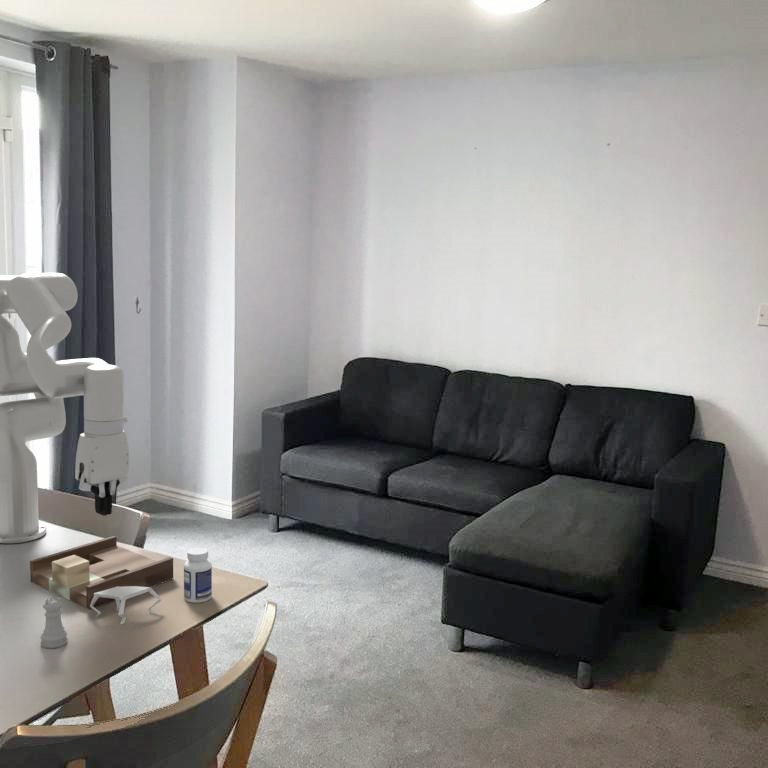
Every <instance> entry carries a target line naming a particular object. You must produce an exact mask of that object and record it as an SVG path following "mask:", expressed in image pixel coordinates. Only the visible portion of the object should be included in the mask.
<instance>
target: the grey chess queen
mask: <svg viewBox="0 0 768 768" xmlns="http://www.w3.org/2000/svg"><path fill="white" fill-rule="evenodd" d="M61 600H62V599H61V598H59V597H57V596H55V597H54V599H53V597H49V598H46V599H45V601H44V604H43V605H42V608H43V609H44V610H45V613H44V616H45V624H44V625H45V626H44V629H43V631H42V633H41V635H40V645H41V647H43V648H45V649H49V648H53V649H58V648H57V647H59V648H61V647H63V646H65V644H66V643H67V642H68V640H69V639H68V637H67V636H68V633H67V631H66V630H65V628H64V626H63V621H62V616H61V615H62V614H63V612H62V610H61V609H62V608H63V606H64V603H63V602H62V601H61Z"/></svg>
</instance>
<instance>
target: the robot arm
mask: <svg viewBox="0 0 768 768" xmlns="http://www.w3.org/2000/svg"><path fill="white" fill-rule="evenodd" d="M78 295H79V294H78V289H77V286H76V284H75V282H74V281H73V279H71V277H69V276H68V275H66V274H64V273H62V272H61V273H60V272H36V273H35V272H32V273H31V272H30V273H22V274H18V275H0V397H7V396H8V397H9V396H18V395H25V394H33V395H34V397H35V398H30V399H19V400H13V401H6V402H4V401H3V402H2V403H1V402H0V544H20V543H27V542H30V541H34V540H37V539H39V538H41V537H43V536H44V535H45V534H46V532H47V527H46V525H45V524H43V523H41V522H40V520H39V519H40V518H39V493H38V492H39V490H38V486H39V483H38V465H37V464H38V462H37V458H36V456H35V454H34V453H33V451H32V450H31V449H30V448H29V447H28V445H27V444H26V443H27V442H30V441H31V442H32V441H35V440H42V439H47V438H48V439H49V438H53V437H57V436H58V435H60V434H62V433H63V432H64V430H65V428H66V423H67V419H66V417H67V416H66V415H67V414H66V409H65V403H64V402H65V401H64V399H65V398H73V397H79V396H83V432H82V433H80V434H79V438H78V441H77V448H76V455H75V470H74V472H75V473H74V475H75V479H76V481H79V484H78V485H79V486H78V489H79V490H80V491H82V492H91V494H93V495H94V509H95V513H96V514H99V515H101V516H103V517H105V516H106V517H107V516H108V515H112V510H113V495H115V493H116V489H117V488H118V487H119V485H120V484H123V483H124V482H126V481H127V480H128V475H129V472H130V453H129V442H128V438H127V433H126V431H125V430H124V424H127V423H128V418H127V417H126V416H124V371H123V369H122V367H120V366H119V365H114V364H109V363H108V362H106V360H103V359H102V358H99V357H88V358H87V357H85V358H71V359H60V360H55V359H53V357H52V356H51V355H50V354H49V353H48V351H47V350H49V349H51V347H54V346H56V345H58V344H59V343H60V342H62V341H63V340H65V338H66V337H67V336H68V335H69V333H70V332H71V329H72V321H71V318H70V316H69V315H68V313H67V311H70V310H72V309H73V308H75V306H76V304H77V302H78ZM3 314H17V315H18V317H19V319H20V320H21V322H22V323H23V325H24V326H25V328H26V330H27V331H28V333H29V334H30V338H29V340H28V342H27V344H26V345H27V346H26V350H25V351H26V352H24V351H23V350H22V347H21V341H20V334H19V333H18V331H17V329H16V328H15V326H14V325H13V324H12V323H11V322H10V321H9V320H8V319H7V318H6V317H5V316H3Z"/></svg>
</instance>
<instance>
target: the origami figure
mask: <svg viewBox="0 0 768 768" xmlns="http://www.w3.org/2000/svg"><path fill="white" fill-rule="evenodd" d="M148 592H149V594H151V595H152V596H153V597H155V598H156V599H157V600H156V601H155V602H154V603H152V604H151V605H150V606H149V607H147V610H148V612H149V614H151V615H152V614H154V612H153V609H152V608H153V607H155V606H156V605H157V604H159V603H161V602H162V601H163V599H162V598H161V597H160V596H159V595H158V593H156V592H155V590H154V589H153V587H139V586H124V587H118V586H117V587H114V588H111V589H107V590H104V591H100V592H97V593H94V597H93V599H92V601H91V604H90V607H91V608H92V609H91V610H94V611H95V612H96V613H97V614H95V617H98V616H100V615H101V614H102V612H101V611H100V610H98V608H97V607H96V608H95V607H93V605H94V603H95V602H96V600H97V599H98V598H99V597H105V598H112V599H115V604H116V609H115V611H116V610H118V613H117V615H118V616H119V617H121V621H120V623H119V625H120V624H122V625H124V624H125V622H126V619H127V616H126V615H125V605H126V600H128V599H130V598H134V597H136V596H140V595H143V594H145V593H148ZM123 623H124V624H123Z"/></svg>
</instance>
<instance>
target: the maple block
mask: <svg viewBox="0 0 768 768" xmlns="http://www.w3.org/2000/svg"><path fill="white" fill-rule="evenodd" d="M89 580H90V572H89V561H88V560H86V559H83V558H81V557H78V556H76V555H72V556H69V557H65V558H62V559H59V560H56V561H53V562H52V581H53V582H56V583H58V584H60V585H62V586H65V587H67V588H68V587H71V586H74V585H77V584H80V583H83V582H86V581H89Z"/></svg>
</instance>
